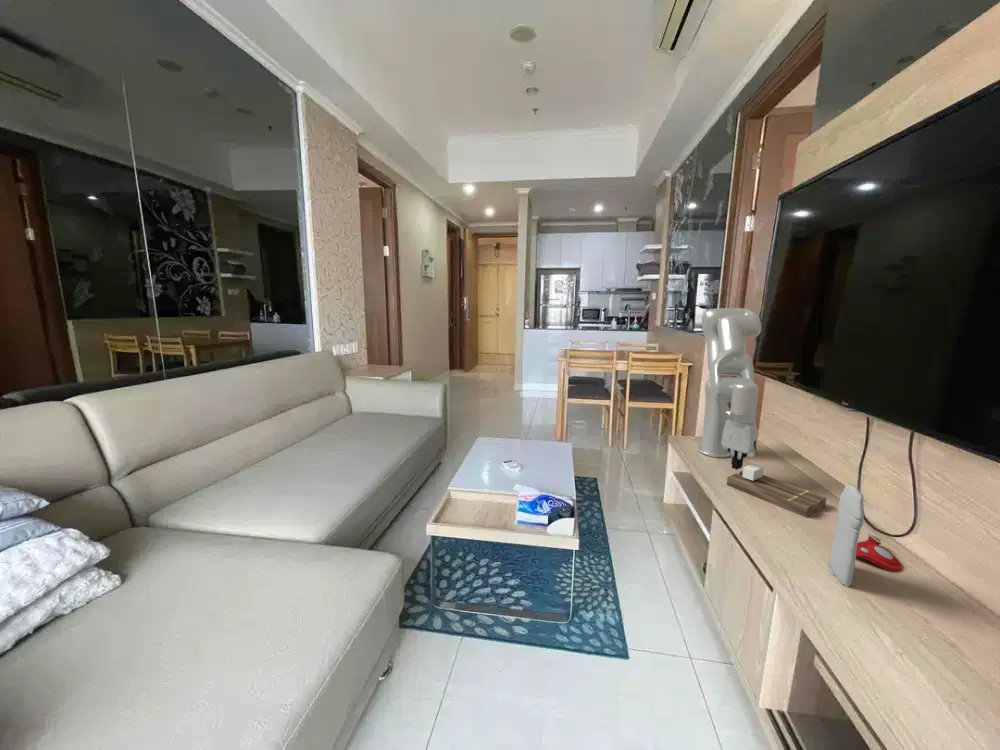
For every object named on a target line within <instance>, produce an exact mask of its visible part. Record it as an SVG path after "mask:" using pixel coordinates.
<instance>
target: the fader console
mask: <svg viewBox="0 0 1000 750" xmlns="http://www.w3.org/2000/svg"><path fill="white" fill-rule="evenodd" d="M742 475H743V470H742V471H740V472H738V473H734V474H731V475H729V476H727V478H726V486H728V487H730V488H734V489H736V490H738V491H741V492H743V493H746V494H748V495H751V496H753V497H755V498H758V499H760V500H763V501H765V502H768V503H770V504H773V505H775V506H778V507H780V508H782V509H784V510H786V511H790V512H792V513H795V514H797V515H800V516H802V517H805V518H807V517H809V516H812V515H813V514H815V513H816V512H819V511H820V510H821V509H823V508H826V504H827V497H826V496H823V495H820V494H818V493H815V492H812V491H811V490H806V489H804V488H801V487H798V486H795V485H793V484H789V483H787V482H784V481H782V480H779V479H776V478H773V477H771V476H767V475H764V474H763V477H761V478H759V479H756V480H755V481H752V480H749V479H747V478H744V477H742Z"/></svg>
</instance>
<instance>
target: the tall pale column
mask: <svg viewBox="0 0 1000 750" xmlns="http://www.w3.org/2000/svg"><path fill="white" fill-rule="evenodd" d="M863 495H864V494H863V493H862V491H861V490H859V488H858V487H856V486H855V485H853V484H852V483H850V482H846V484H845V486H844V489H843V491H842V492H841V493H840V496H839V502H838V509H837V510H838V512H837V520H836V526H835V532H834V534H833V537H832V538H833V539H832V542H831V549H830V554H829V559H828V564H830V565H829V566H828V572H829V573H830V574H831V573H832V574H833V576H834V575H835V576H836V577H837V578H838V579H837V578H836V577H835V576H834V577H835V578H836V579H837V580H839V581H840V582H841V583H842V584H844V585H846V586H850V585H852V583H853V576H854V572H855V571H854V569H855V567H856V566H855V565H856V559H857V557H856V549H857V543H858V541H859V538H860V537H859V536H860V533H861V529H862V527H863V525H864V524H863V523H864V519H865V510H864V496H863ZM832 574H831V575H832ZM839 581H838V582H839ZM840 582H839V583H840ZM841 583H840V584H841ZM842 584H841V585H842ZM844 585H843V586H844ZM846 586H845V587H846ZM850 587H851V586H850Z"/></svg>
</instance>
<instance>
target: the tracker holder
mask: <svg viewBox="0 0 1000 750" xmlns="http://www.w3.org/2000/svg"><path fill="white" fill-rule="evenodd" d="M867 535H868V537H867V539H866V540H863V541H859V542H857V549H856V558H862V559H865V560H867V561H869V562H871V563H872V564H874V565H876V566H878V567H880V568H883V569H884V570H886V571H889V572H892V573H893V572H898V571H900V570H901V568H902V563H901V562H900V560H899V559H898V558H897V557H896V556H895V554H893V553H892V552H891V551H889V550H888V549H886V548H885V547H883V546H882V543H881V539H880V538H878V537H877V536H875V535H873V534H871V533H867Z"/></svg>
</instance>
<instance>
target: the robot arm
mask: <svg viewBox="0 0 1000 750" xmlns="http://www.w3.org/2000/svg"><path fill="white" fill-rule="evenodd" d="M701 329H702V332H703V335H704V338H705V341H706V345H707V346H706V348H707V349H706V350H707V367H708V371H709V373H708V378H709V379H707V381H705V384H704V396H705V407H704V419H703V428H702V438H701V444H699V445H697V447H696V448H697V451H698V452H699V453H700V454H703V455H704V456H708V457H711V458H712V457H713V458H719V459H720V458H721V459H722V458H723V459H725V458H729V457H731V461H730V462H731V468H732V469H734V470H736V471H737V470H739V469H741V468H742V467H743V463H744V459H745V458H749V457H750V458H753V457H756V451H757V447H758V427H757V423H756V415H757V414H756V413H757V405H758V397H759V390H760V389H759V385H757V384H756V383H755V374H754V373H755V372H754V363H753V359H752V356H751V355H750V354H749V353H747V346H746V338H756V337H759V335H760V334H761V331H762V322H761V319H760V317H759V316H758V314H756V313H755V312H754V311H752V310H751V309H749V308H745V307H744V308H743V307H742V308H739V307H738V308H737V307H736V308H734V307H730V308H729V307H726V308H725V307H719V308H711V309H708V310H705V311H704V312H703V314H702V316H701ZM725 376H726V377H725ZM727 376H728V377H727ZM730 376H731V377H730ZM733 376H735V377H733ZM727 402H728V403H729V402H730V407H729V406H728V405H727V404H726V403H727Z"/></svg>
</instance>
